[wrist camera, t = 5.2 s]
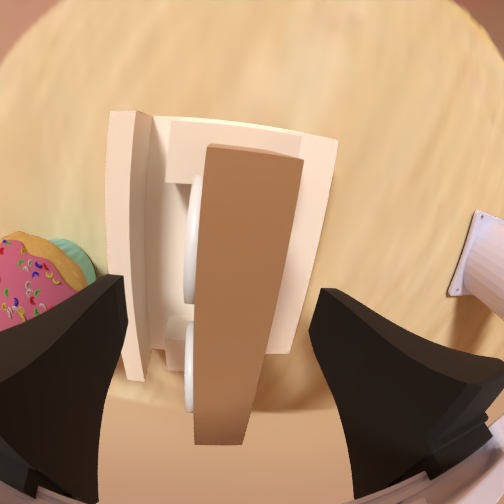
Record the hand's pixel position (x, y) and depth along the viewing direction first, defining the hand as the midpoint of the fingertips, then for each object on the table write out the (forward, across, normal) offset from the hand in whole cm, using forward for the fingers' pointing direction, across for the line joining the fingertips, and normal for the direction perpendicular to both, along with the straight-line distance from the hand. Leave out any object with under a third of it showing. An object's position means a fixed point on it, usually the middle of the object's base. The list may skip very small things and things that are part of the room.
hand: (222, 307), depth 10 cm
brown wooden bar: (+2, 0, 0) cm, 2 cm away
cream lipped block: (+6, 0, 0) cm, 6 cm away
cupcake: (+7, +10, +3) cm, 12 cm away
